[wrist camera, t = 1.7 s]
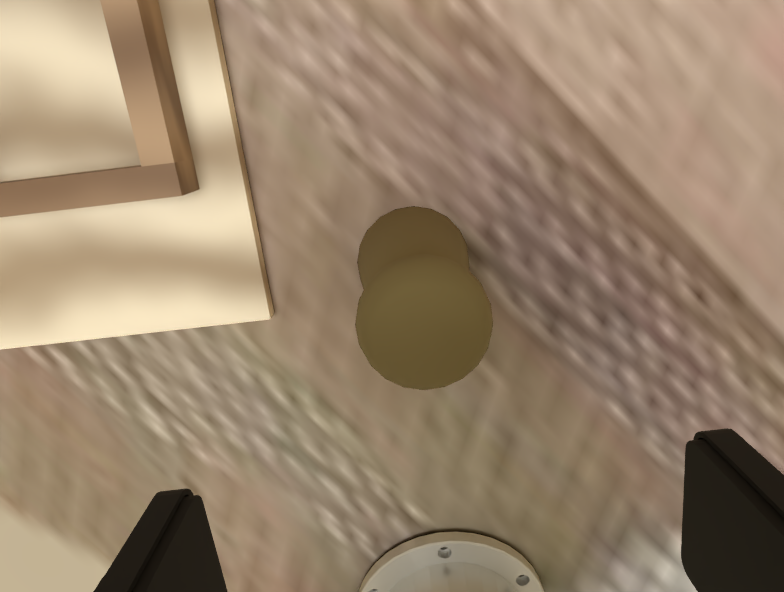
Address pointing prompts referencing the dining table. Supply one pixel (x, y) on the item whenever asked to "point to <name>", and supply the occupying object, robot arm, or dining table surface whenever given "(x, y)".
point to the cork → (420, 301)
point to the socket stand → (121, 174)
